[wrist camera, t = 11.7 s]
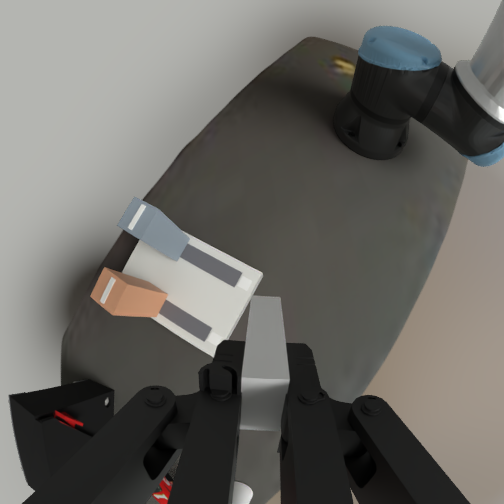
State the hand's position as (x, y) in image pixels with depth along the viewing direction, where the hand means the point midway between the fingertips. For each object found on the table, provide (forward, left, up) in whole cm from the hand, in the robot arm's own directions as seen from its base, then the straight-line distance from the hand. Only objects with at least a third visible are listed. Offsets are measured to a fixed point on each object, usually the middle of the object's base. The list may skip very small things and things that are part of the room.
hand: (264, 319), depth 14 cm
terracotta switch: (+18, 0, -23) cm, 30 cm away
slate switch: (+16, -8, -23) cm, 30 cm away
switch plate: (+14, -3, -26) cm, 30 cm away
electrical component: (+28, +27, -26) cm, 47 cm away
